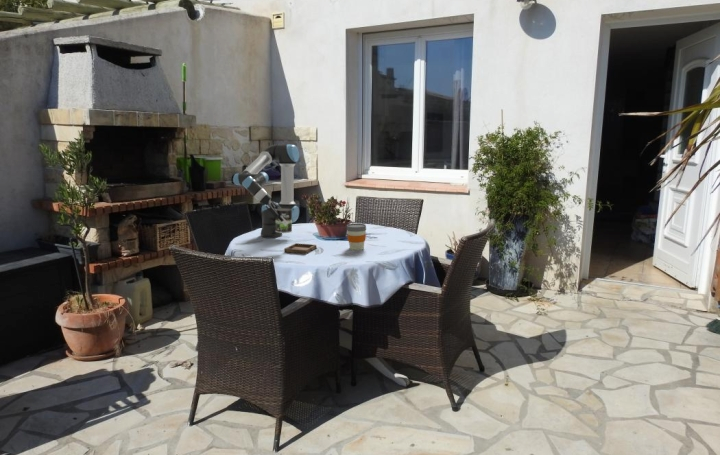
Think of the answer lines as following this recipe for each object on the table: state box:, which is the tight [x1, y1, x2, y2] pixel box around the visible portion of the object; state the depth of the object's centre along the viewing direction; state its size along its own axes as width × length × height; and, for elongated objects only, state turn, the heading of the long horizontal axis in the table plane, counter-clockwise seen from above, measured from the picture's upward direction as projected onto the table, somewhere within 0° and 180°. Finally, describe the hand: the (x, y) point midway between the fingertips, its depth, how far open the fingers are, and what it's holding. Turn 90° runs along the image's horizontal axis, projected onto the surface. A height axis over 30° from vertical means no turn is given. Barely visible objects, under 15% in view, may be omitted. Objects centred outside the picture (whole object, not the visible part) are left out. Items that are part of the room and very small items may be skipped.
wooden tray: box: [283, 242, 318, 255], centre depth 334 cm, size 15×15×2 cm
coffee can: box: [276, 208, 293, 234], centre depth 329 cm, size 10×10×14 cm
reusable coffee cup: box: [346, 222, 367, 251], centre depth 336 cm, size 12×13×15 cm
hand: (288, 222), depth 329 cm, fingers closed on coffee can, 10 cm apart
